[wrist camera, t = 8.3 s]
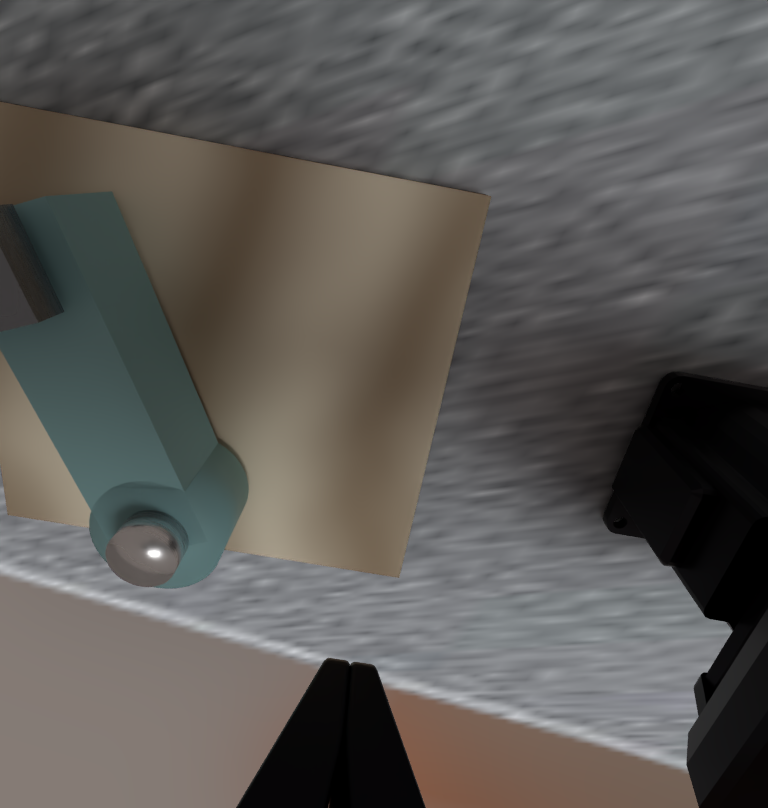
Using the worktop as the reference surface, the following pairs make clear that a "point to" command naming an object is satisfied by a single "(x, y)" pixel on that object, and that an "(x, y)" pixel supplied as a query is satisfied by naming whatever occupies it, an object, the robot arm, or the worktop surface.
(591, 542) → the worktop surface
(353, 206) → the board
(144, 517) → the link
